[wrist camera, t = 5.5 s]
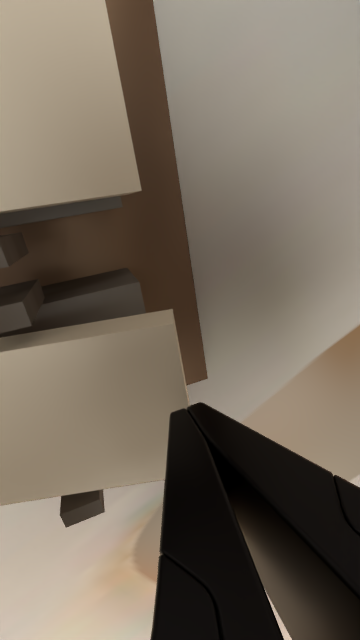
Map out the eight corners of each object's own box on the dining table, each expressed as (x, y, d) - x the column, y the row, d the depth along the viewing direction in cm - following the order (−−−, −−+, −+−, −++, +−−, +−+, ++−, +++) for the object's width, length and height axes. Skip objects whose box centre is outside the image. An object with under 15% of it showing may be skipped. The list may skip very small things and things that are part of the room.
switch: (172, 308, 8) (173, 326, 7) (197, 447, 10) (201, 478, 9) (-119, 357, 8) (-163, 381, 7) (-37, 484, 10) (-61, 519, 9)
